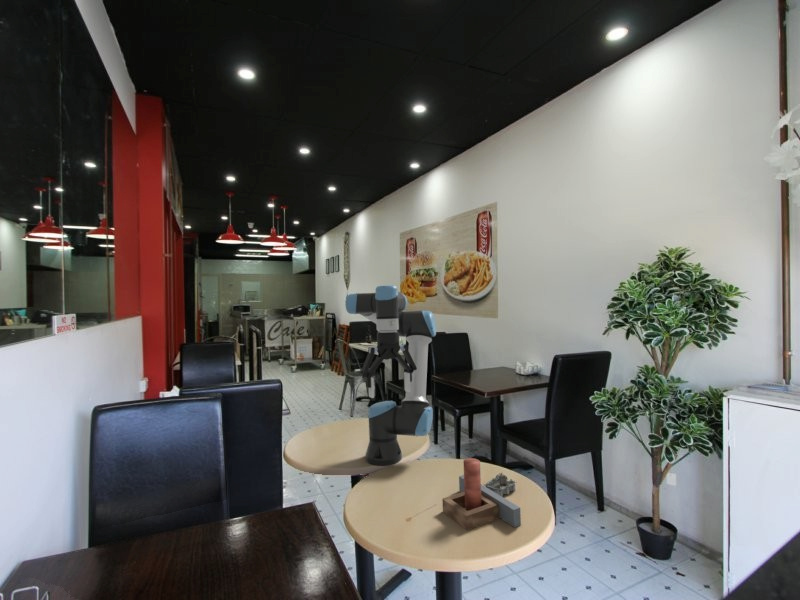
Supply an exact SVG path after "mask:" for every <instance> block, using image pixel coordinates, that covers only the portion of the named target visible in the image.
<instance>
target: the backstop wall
mask: <svg viewBox="0 0 800 600" xmlns="http://www.w3.org/2000/svg"><path fill="white" fill-rule="evenodd" d="M458 484H459V487H458V488H459V493H461V492H464V491H465V490H464V474H462V475H459V476H458ZM481 494H482V495H484V496H485V497H487V498H489V499H490V500H492V501H493V502H495V503H497V504H498V506H499V519H501V520H503V521H504V522H506V523H507V524H508V525H510V526H511V527H513V528H516V527H519V526H521V525H522V523H521V522H522V521H521V520H522V519H521V518H522V517H521V515H522V514H521V507H520V506H519V505H517V504H515V503H514V502H512V501H510V500H508V499H506V498H505V497H502V496H500V495H498V494H497V493H495V492H493V491H492V490H490V489H488V488H487V487H485V486H484V485H483V484H481Z"/></svg>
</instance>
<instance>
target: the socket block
mask: <svg viewBox="0 0 800 600" xmlns="http://www.w3.org/2000/svg"><path fill="white" fill-rule="evenodd" d="M481 504H482V506H481V507H478V508H475V509H472V510H469V511H467V510H466V509H465V491H464V492H459V493H456V494H452V495H449V496H446V497H443V498H442V513H444V514H446V516H448V517H449V518H451V519H452V520H453V521H455V522H456V523H457V524H458V525H460V526H461V527H462V528H463V529H465V530H466V531H469V530H472V529H474V528H476V527H479V526H482V525H485V524H487V523H490V522H492V521H494V520H498V519H500V517H499V506H498V504H497V503H495V502H493V501H492V500H490V499H489V498H487V497H485V496H484V495H482V494H481Z"/></svg>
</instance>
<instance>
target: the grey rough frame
mask: <svg viewBox="0 0 800 600" xmlns="http://www.w3.org/2000/svg"><path fill="white" fill-rule="evenodd" d="M517 483H518V482H517V481H515V480H512V478H510V480H509V479H508V476H507V475H505V474H503V472H501V473H500V472H499V473H498V474H497V475H495V477H493V478H492V479H490V480H487V482H486V483H485V484H482V485H483V486H485V487H487V488H488V489H490V490H492V491H493V492H495V493H497V494H498V495H500V496H502V497H503V496H504V495H507V494H508V495H509V494H510V492H515V491H516V484H517ZM501 485H502V486H501ZM503 485H505V486H503ZM503 498H504V497H503Z"/></svg>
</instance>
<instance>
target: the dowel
mask: <svg viewBox="0 0 800 600" xmlns="http://www.w3.org/2000/svg"><path fill="white" fill-rule="evenodd" d="M463 475H464V490H465V508H464V509H466V510H467V511H469V510H472V509H475V508H478V507H481V506H482V504H481V485H482V481H481V480H482V479H481V478H482V477H481V460H479V459H477V458H472V457H471V458H465V459H464V460H463Z"/></svg>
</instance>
